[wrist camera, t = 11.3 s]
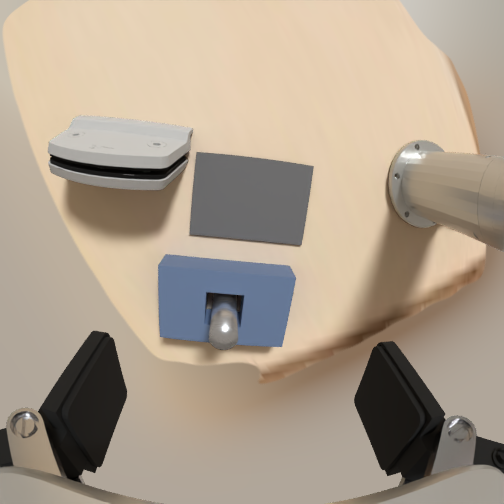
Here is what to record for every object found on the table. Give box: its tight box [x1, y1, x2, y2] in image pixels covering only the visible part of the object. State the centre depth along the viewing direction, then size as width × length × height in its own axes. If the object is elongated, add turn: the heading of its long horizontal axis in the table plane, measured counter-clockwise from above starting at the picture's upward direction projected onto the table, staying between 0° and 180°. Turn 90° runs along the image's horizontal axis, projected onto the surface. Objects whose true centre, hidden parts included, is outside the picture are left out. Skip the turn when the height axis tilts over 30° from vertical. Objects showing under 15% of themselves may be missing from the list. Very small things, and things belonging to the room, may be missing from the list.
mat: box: [190, 152, 314, 245], centre depth 34 cm, size 14×10×1 cm
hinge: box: [48, 115, 193, 190], centre depth 27 cm, size 17×5×10 cm, turn 76°
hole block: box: [158, 254, 296, 347], centre depth 36 cm, size 16×10×4 cm, turn 83°
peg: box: [209, 293, 238, 350], centre depth 33 cm, size 3×3×10 cm
